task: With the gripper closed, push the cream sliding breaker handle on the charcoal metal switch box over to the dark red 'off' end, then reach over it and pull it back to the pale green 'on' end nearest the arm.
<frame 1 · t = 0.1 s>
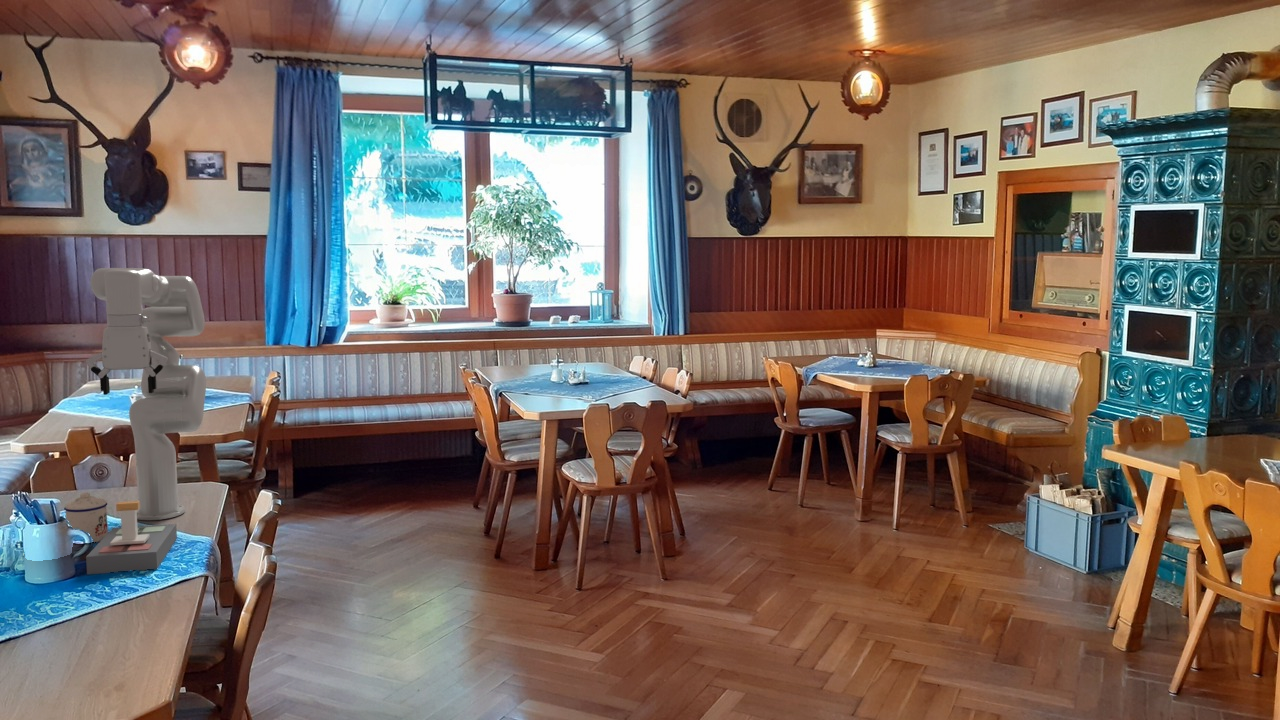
hand: (129, 393, 227), 37 cm above the table, tool pointing down, fingers open, 9 cm apart
switch box: (134, 556, 220), on the table
teacup with lid: (89, 538, 234), on the table
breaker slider: (129, 521, 216), point 9 cm above the table, slide at 3.0 cm
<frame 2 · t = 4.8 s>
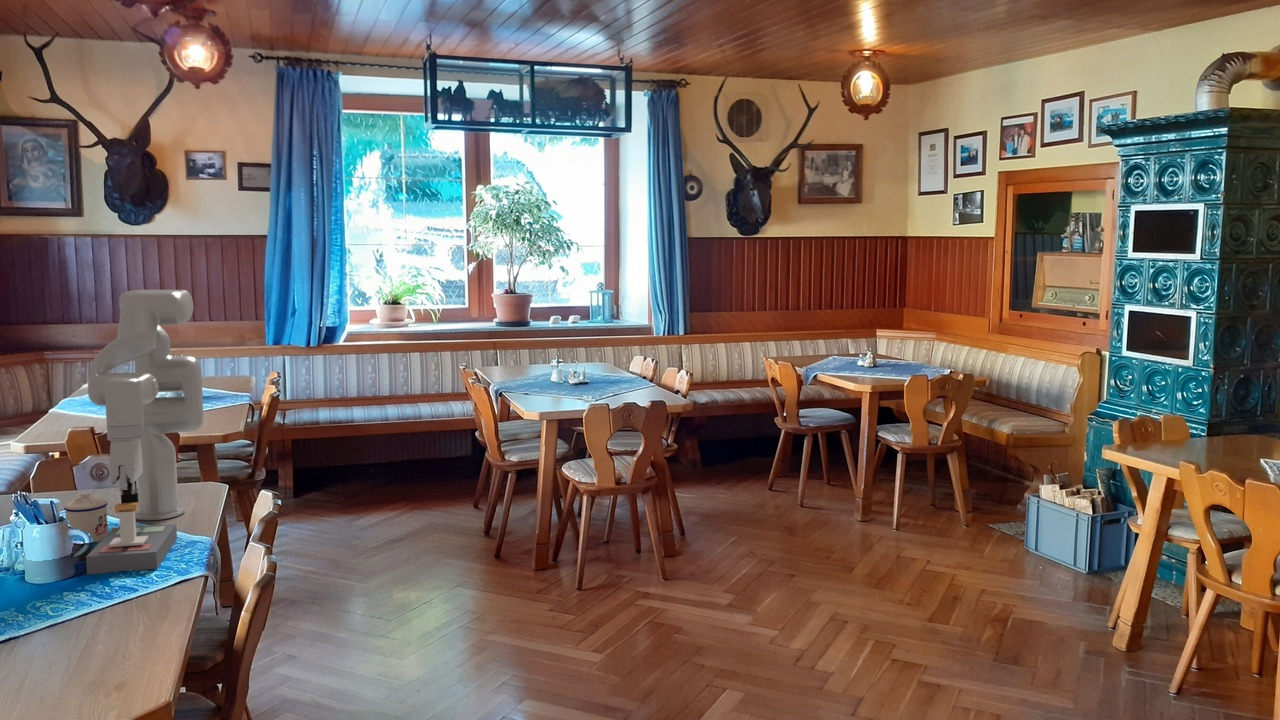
hand: (130, 510, 218), 11 cm above the table, tool pointing down, fingers closed
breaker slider: (127, 523, 215), point 9 cm above the table, slide at 4.4 cm, touching gripper
everything else where it was.
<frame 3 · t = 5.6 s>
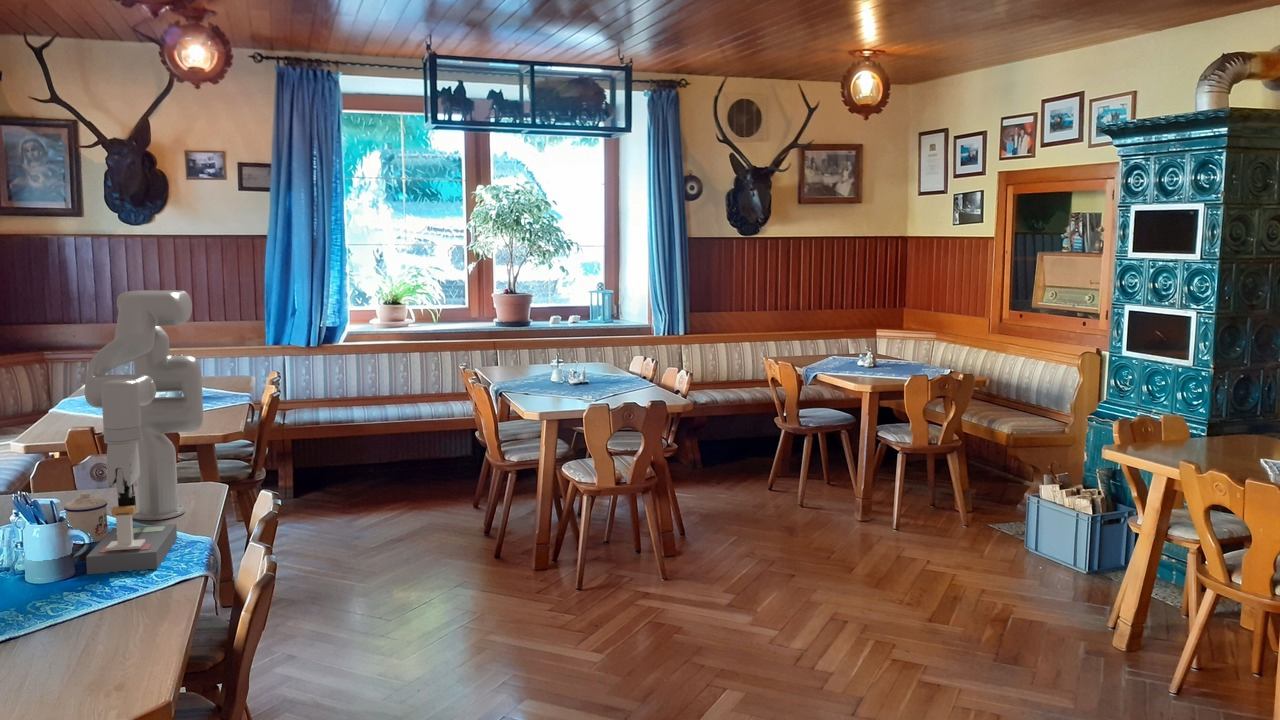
hand: (127, 513, 215), 11 cm above the table, tool pointing down, fingers closed
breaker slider: (124, 526, 212), point 9 cm above the table, slide at 7.0 cm, touching gripper
everything else where it was.
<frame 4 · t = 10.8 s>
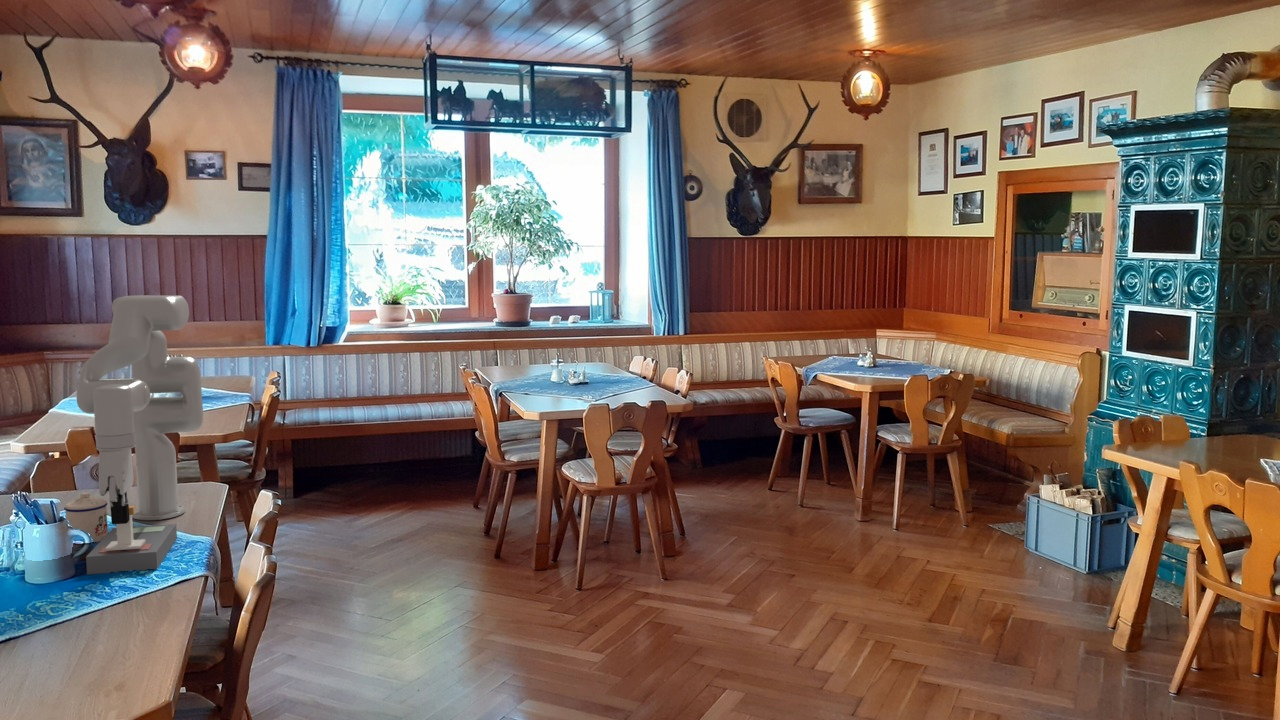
hand: (120, 522, 209), 11 cm above the table, tool pointing down, fingers closed
nothing on the table moved.
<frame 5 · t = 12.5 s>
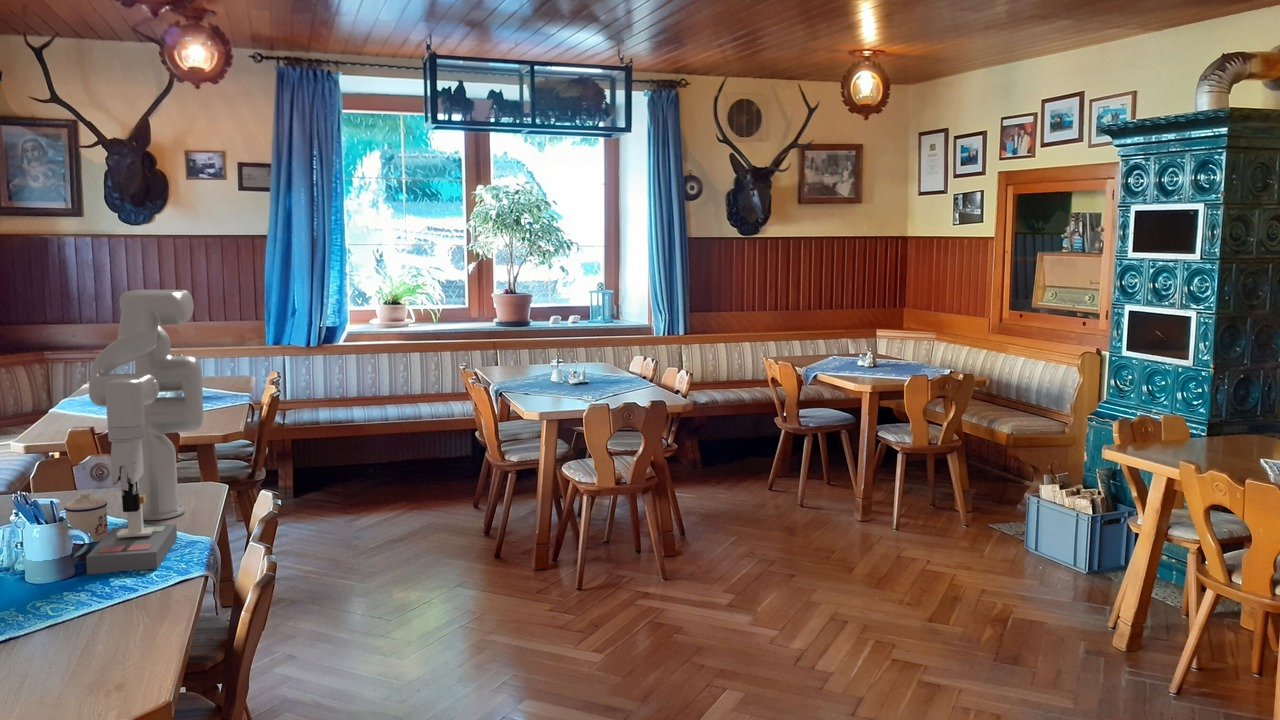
hand: (131, 510, 218), 11 cm above the table, tool pointing down, fingers closed
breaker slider: (135, 514, 222), point 9 cm above the table, slide at -2.7 cm, touching gripper
everything else where it was.
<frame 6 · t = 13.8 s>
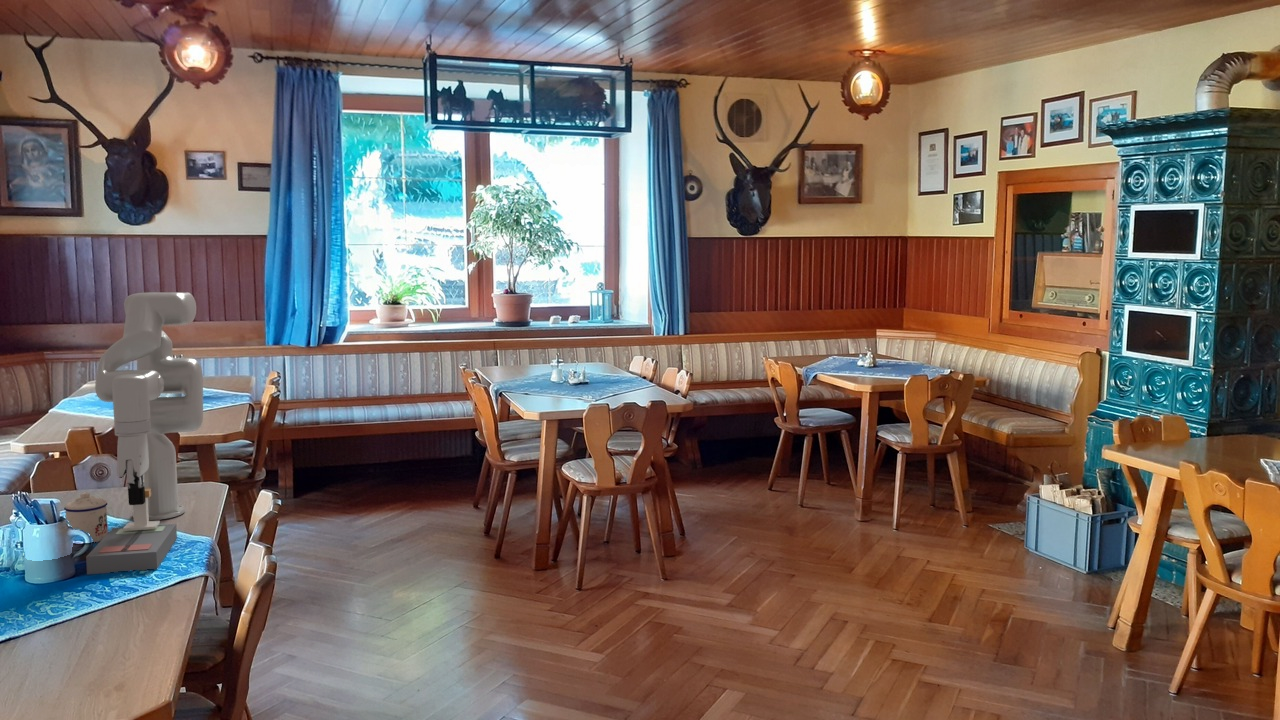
hand: (137, 503, 224), 11 cm above the table, tool pointing down, fingers closed
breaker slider: (140, 508, 227), point 9 cm above the table, slide at -8.1 cm, touching gripper
everything else where it was.
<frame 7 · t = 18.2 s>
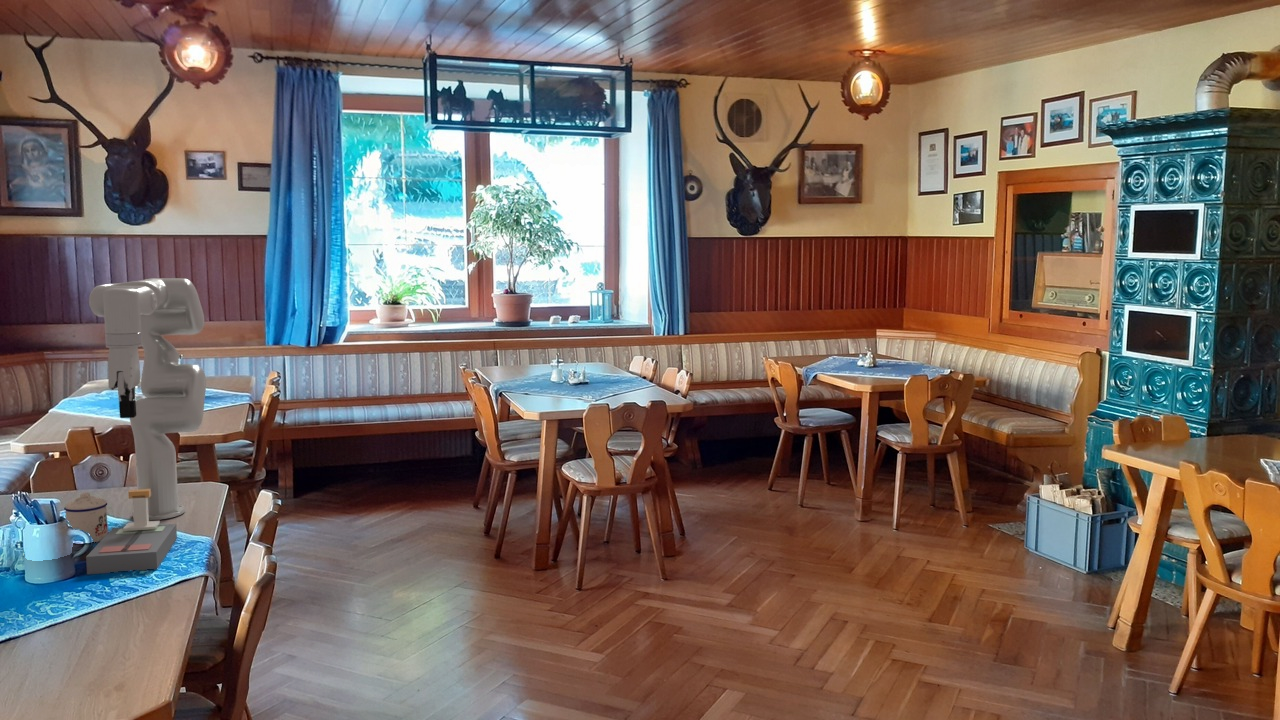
hand: (128, 417, 226), 31 cm above the table, tool pointing down, fingers closed
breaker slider: (140, 508, 227), point 9 cm above the table, slide at -8.0 cm
everything else where it was.
at the end: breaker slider slide at -8.0 cm; teacup with lid moved 0.2 cm from its start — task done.
